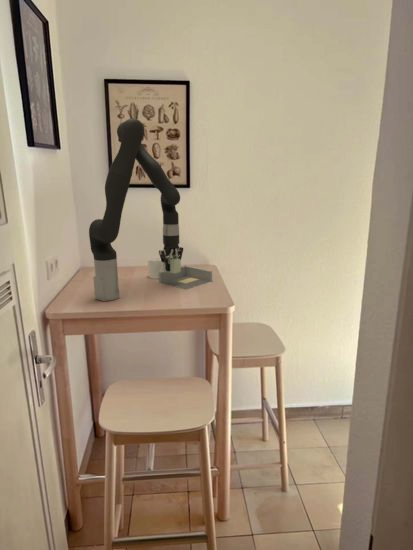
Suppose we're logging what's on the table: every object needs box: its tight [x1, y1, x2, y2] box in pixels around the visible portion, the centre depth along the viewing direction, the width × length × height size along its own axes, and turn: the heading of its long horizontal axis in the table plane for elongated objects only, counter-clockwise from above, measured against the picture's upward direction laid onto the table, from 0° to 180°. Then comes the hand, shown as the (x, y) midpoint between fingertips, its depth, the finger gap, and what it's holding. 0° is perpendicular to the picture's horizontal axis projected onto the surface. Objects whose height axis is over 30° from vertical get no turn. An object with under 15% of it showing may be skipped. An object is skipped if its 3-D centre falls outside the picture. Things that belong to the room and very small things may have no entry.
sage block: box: [163, 257, 182, 273], centre depth 177 cm, size 4×8×6 cm, turn 48°
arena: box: [158, 265, 213, 291], centre depth 181 cm, size 18×18×6 cm
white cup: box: [147, 257, 163, 280], centre depth 190 cm, size 8×8×10 cm
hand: (171, 270), depth 177 cm, fingers closed on sage block, 4 cm apart
